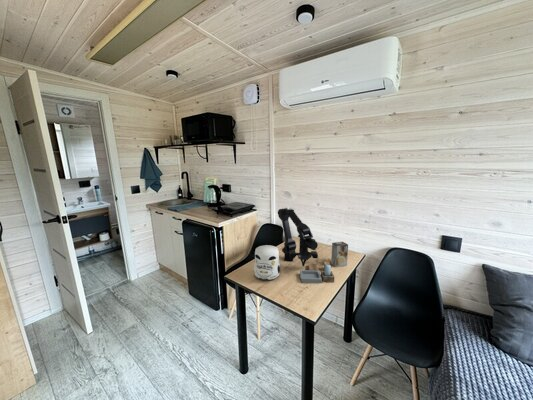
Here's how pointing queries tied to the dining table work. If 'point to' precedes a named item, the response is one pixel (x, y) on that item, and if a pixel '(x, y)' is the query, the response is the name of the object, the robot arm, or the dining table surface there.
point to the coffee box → (339, 254)
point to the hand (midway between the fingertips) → (303, 265)
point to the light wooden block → (326, 264)
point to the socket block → (327, 277)
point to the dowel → (327, 270)
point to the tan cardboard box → (313, 266)
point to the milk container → (267, 262)
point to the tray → (310, 276)
